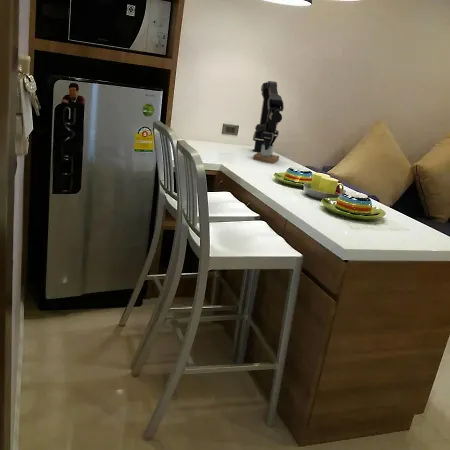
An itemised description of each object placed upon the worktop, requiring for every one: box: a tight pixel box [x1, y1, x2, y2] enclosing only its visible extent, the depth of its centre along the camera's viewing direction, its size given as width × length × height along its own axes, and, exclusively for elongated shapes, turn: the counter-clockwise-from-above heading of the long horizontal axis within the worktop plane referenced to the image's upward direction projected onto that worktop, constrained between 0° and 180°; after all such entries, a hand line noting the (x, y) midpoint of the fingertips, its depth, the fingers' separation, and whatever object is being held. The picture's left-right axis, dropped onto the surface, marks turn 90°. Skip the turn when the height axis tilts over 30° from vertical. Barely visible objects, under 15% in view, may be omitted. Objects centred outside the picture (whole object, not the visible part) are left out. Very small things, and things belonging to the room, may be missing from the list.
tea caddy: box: [260, 144, 275, 157], centre depth 286 cm, size 6×6×6 cm
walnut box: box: [252, 152, 280, 164], centre depth 287 cm, size 12×12×3 cm
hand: (267, 149), depth 286 cm, fingers open, 9 cm apart
